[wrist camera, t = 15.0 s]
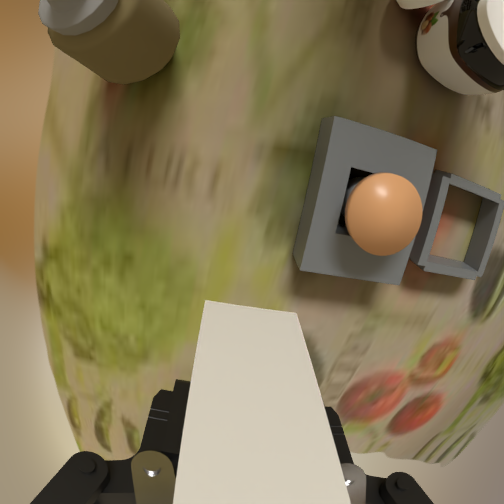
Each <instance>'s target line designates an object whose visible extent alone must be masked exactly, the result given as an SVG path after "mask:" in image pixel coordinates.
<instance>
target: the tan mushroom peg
mask: <svg viewBox="0 0 504 504" xmlns="http://www.w3.org/2000/svg"><path fill="white" fill-rule="evenodd" d="M341 213H342V214H343V216H344V217H345V223H346V227H347V230H348V232H349V234H350V236H351V237H352V239H353V240H354V241H355V242H356V243H357V244H358V245H359V246H360V247H361V248H362V249H363V250H365V251H366V252H368V253H370V254H373V255H378V256H387V255H391V254H395V253H397V252H399V251H401V250H402V249H404V248H405V247H406V246H408V245H409V244H410V243H411V241H412V240H413V239H414V237H415V236H416V234H417V232H418V230H419V228H420V225H421V221H422V202H421V198H420V196H419V193H418V192H417V190H416V188H415V187H414V186H413V185H412V183H411V182H409V181H408V180H407V179H405V178H403V177H401V176H399V175H396V174H392V173H387V172H380V173H375V174H372V175H369V176H367V177H355V178H353V179H351V180H349V181H348V183H347V188H346V192H345V196H344V200H343V204H342V208H341Z"/></svg>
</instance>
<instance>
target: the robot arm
mask: <svg viewBox="0 0 504 504" xmlns="http://www.w3.org/2000/svg"><path fill="white" fill-rule="evenodd" d="M190 384H191V382H190V381H184V380H178V379H176V381H175V386H174V390H173V391H167V390H162V389H161V390H160V391H159V392H158V393H157V394H156V395H155V396H154V398H153V401H152V405H151V410H150V412H149V417H148V420H147V424H146V427H145V431H144V435H143V439H142V443H141V447H140V449H139V451H138V452H137V453H136V454H135V455H134V456H133V457H131V458H129V459H125V460H113V461H105V460H104V459H103V458H102V457H101V456H99V455H98V454H96V453H93V452H88V451H83V452H78V453H76V454H74V455H73V456H72V457H71V458H70V459H69V460H68V461H67V462H66V464H65V465H64V466H63V467H62V468H61V469H60V470H59V472H58V473H57V474H56V475H55V476H54V477H53V478H52V479H51V480H50V482H49V483H48V484H47V485H46V486H45V487H44V488H43V490H42V491H41V492H40V493H39V494H38V495H37V496H36V498H35V499H34V500H33V501H32V502H31V503H30V504H173V499H174V491H175V483H176V476H177V469H178V462H179V454H180V448H181V441H182V434H183V428H184V421H185V415H186V408H187V402H188V396H189V390H190ZM321 397H322V396H321ZM322 401H323V399H322ZM323 404H324V403H323ZM324 408H325V411H326V415H327V418H328V422H329V425H330V429H331V432H332V436H333V439H334V443H335V447H336V450H337V454H338V457H339V461H340V465H341V468H342V472H343V476H344V479H345V483H346V487H347V491H348V494H349V498H350V502H351V504H433V502H432V501H431V500H430V499H429V497H428V496H427V495H426V494H425V492H424V491H423V490H422V488H421V487H420V486H419V485H418V484H417V482H416V481H415V480H414V479H413V477H412V476H410V475H408V474H407V473H403V472H395V473H392V474H391V475H390V476H388V478H380V477H374V476H369V475H366V474H365V473H364V471H363V470H362V469H361V468H360V467H358V466H357V465H354V463H353V460H352V457H351V454H350V451H349V447H348V444H347V441H346V438H345V435H344V431H343V428H342V427H341V422H340V419H339V416H338V414H337V413H336V412H335V411H334V410H333V408H332V407H325V406H324Z"/></svg>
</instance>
